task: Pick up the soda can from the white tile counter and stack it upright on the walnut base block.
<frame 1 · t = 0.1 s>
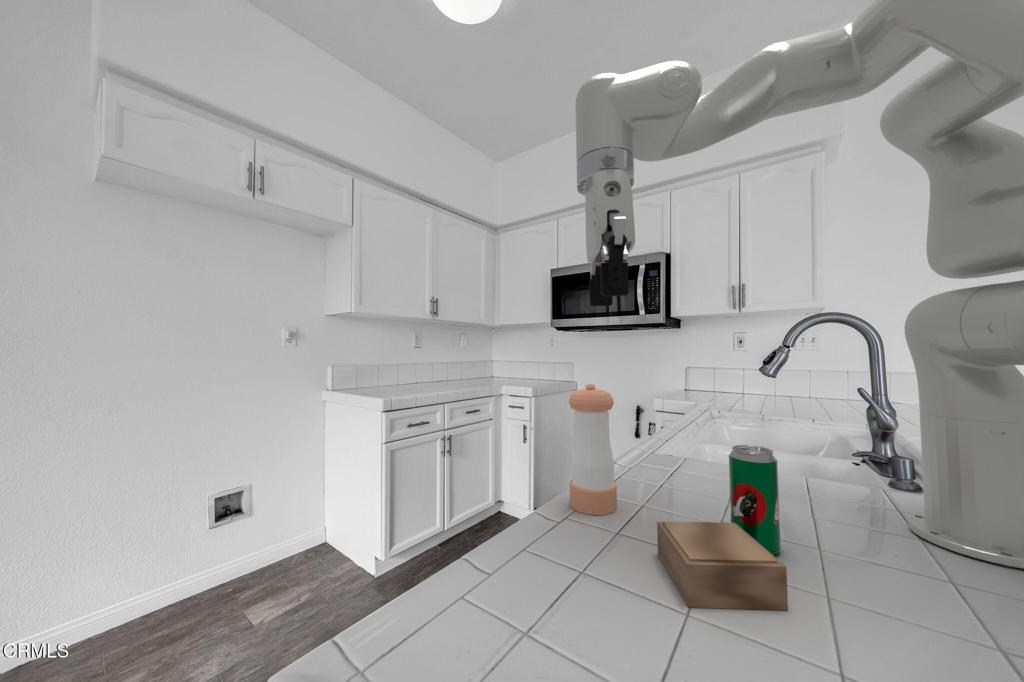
hand: (607, 301, 50), 31 cm above the counter, fingers open, 9 cm apart
soda can: (755, 549, 46), on the counter
pepper shaker: (593, 506, 59), on the counter
walnut base: (715, 579, 40), on the counter
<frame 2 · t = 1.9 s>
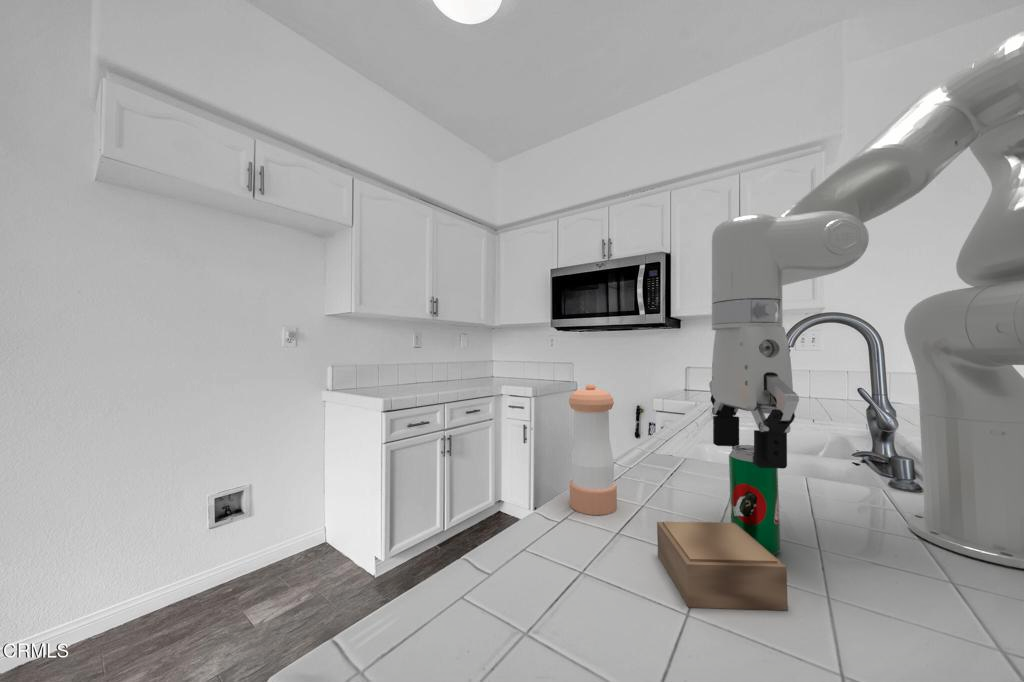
hand: (745, 455, 46), 11 cm above the counter, fingers open, 9 cm apart
nothing on the counter moved.
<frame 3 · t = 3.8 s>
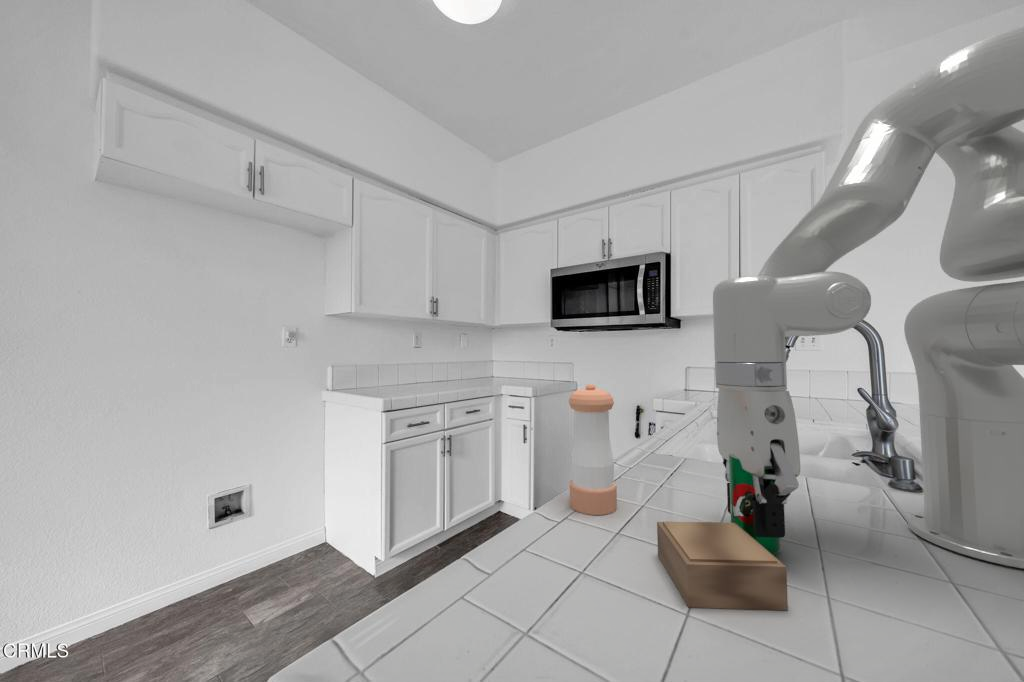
hand: (754, 523, 46), 3 cm above the counter, fingers closed on soda can, 5 cm apart
soda can: (755, 549, 46), on the counter, touching gripper
everything else where it was.
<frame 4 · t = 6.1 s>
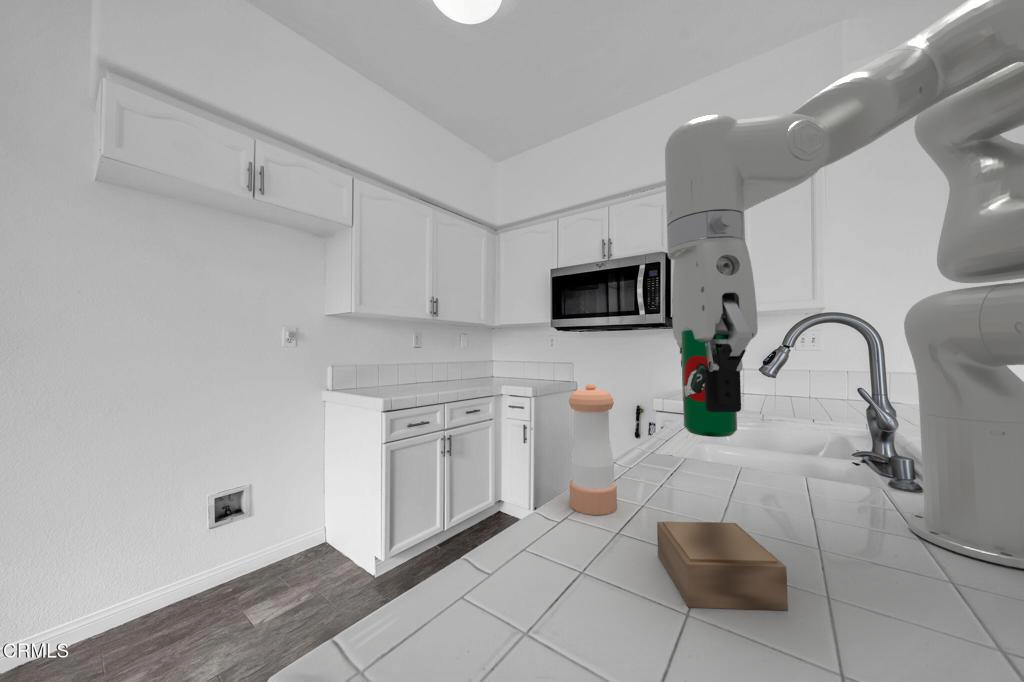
hand: (709, 405, 40), 18 cm above the counter, fingers closed on soda can, 5 cm apart
soda can: (709, 434, 40), point 15 cm above the counter, touching gripper
everything else where it was.
when the fingers open (8 cm above the counter, at t = 8.6 s): soda can drops 1 cm, resting on walnut base.
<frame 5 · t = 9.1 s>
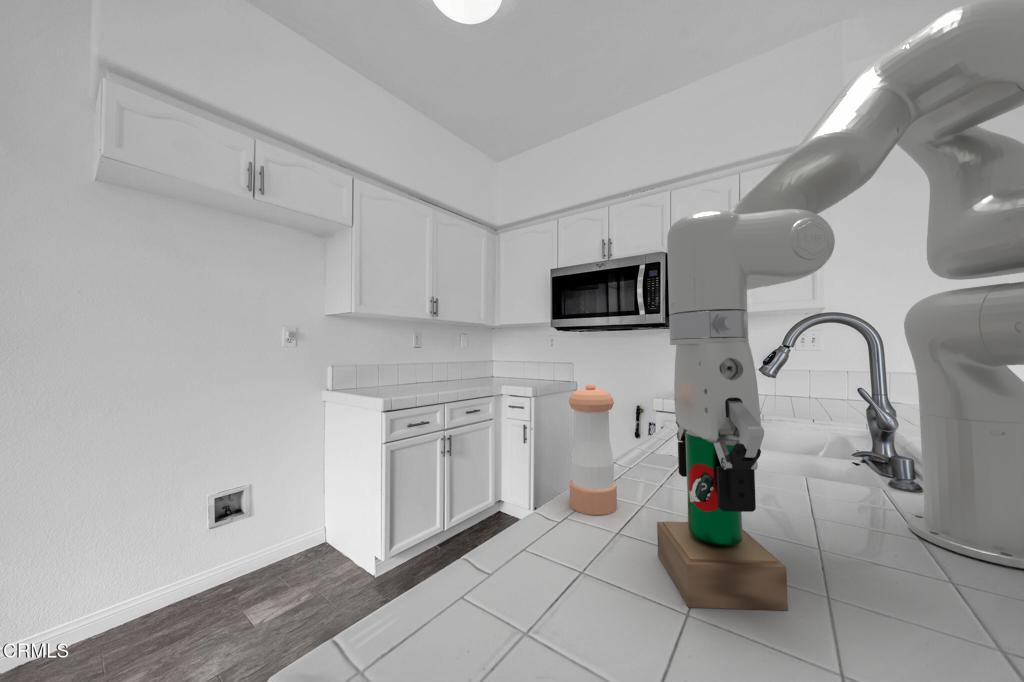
hand: (712, 491, 40), 9 cm above the counter, fingers open, 9 cm apart
soda can: (714, 540, 40), point 4 cm above the counter, touching walnut base
everything else where it was.
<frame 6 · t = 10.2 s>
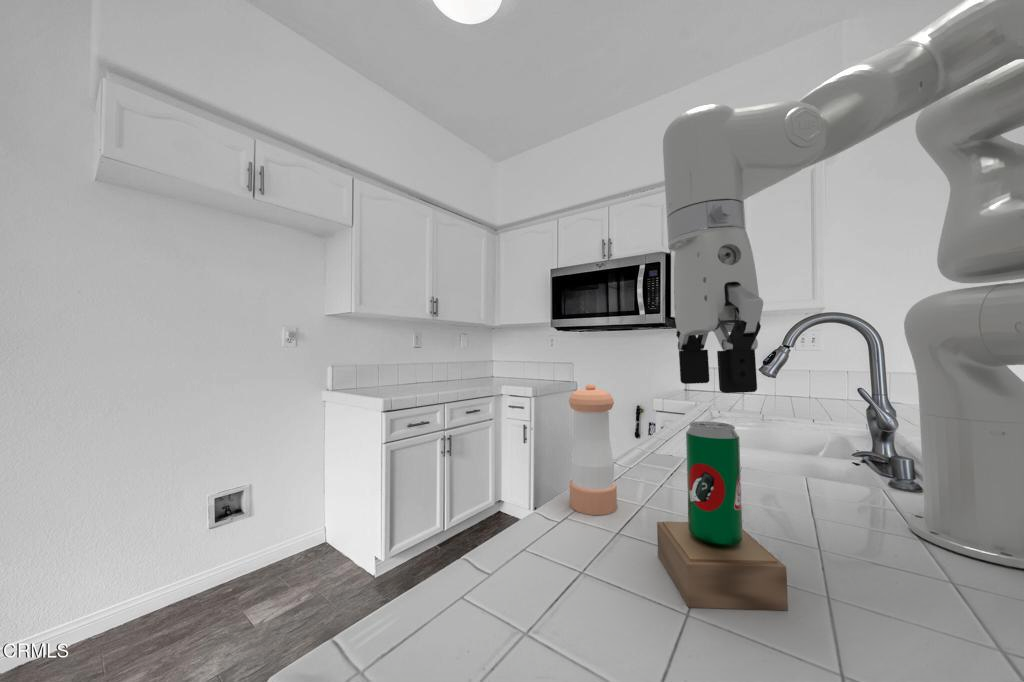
hand: (714, 387, 40), 20 cm above the counter, fingers open, 9 cm apart
nothing on the counter moved.
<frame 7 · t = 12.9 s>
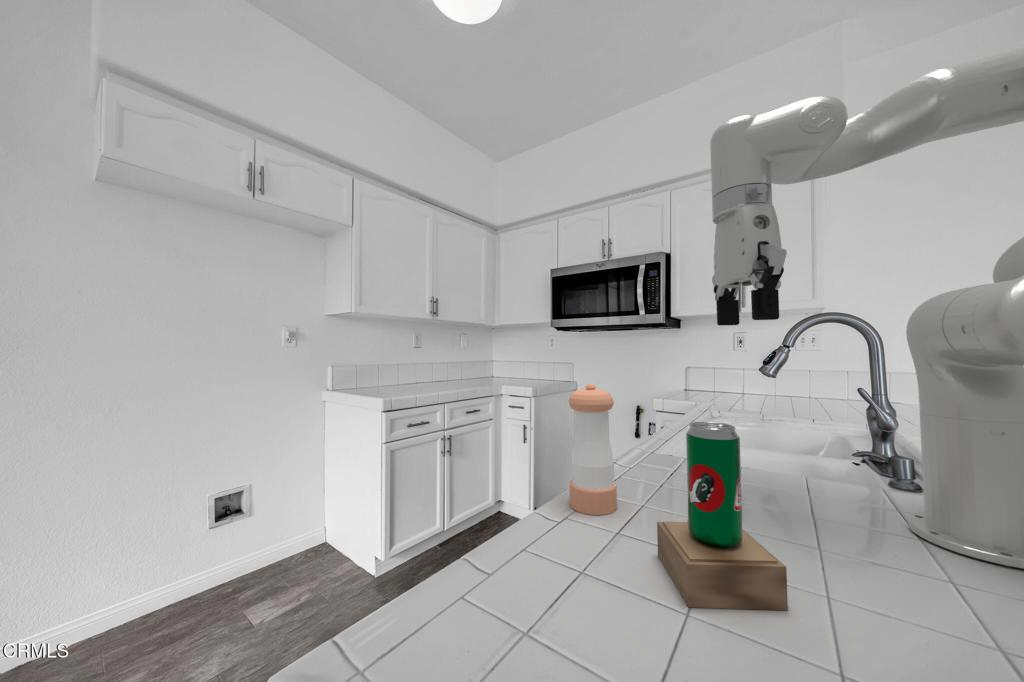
hand: (745, 322, 55), 28 cm above the counter, fingers open, 9 cm apart
nothing on the counter moved.
at the end: soda can touching walnut base; soda can tilted 0° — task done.
